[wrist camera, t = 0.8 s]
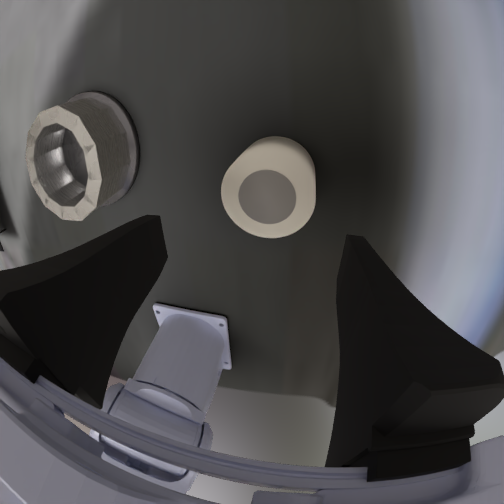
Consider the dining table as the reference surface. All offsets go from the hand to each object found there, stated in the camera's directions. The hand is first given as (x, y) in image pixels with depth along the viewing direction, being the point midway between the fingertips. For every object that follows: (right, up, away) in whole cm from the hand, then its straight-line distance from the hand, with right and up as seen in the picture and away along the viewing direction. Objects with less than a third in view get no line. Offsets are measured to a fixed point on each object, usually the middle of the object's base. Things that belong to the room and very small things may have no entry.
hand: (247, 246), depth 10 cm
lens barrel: (-13, +8, +8) cm, 17 cm away
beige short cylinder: (+2, +5, +7) cm, 9 cm away
